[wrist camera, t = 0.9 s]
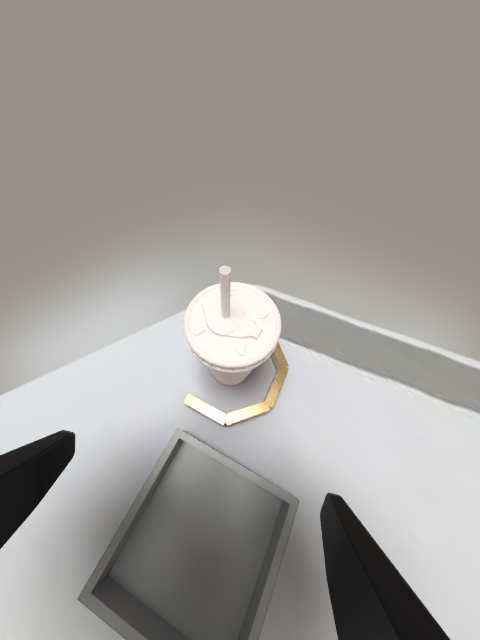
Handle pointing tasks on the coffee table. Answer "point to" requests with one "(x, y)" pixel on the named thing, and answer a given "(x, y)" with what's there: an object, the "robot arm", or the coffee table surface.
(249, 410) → the collar
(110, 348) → the coffee table surface
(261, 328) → the smoothie
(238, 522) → the tray
